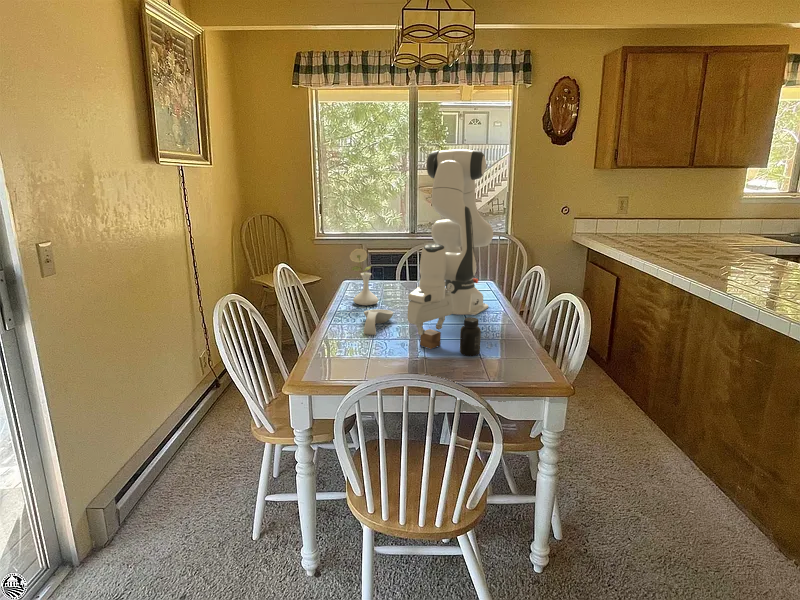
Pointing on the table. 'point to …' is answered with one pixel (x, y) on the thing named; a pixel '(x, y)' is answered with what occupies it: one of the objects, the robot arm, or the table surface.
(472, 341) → the supplement bottle
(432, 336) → the walnut cube
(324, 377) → the table surface
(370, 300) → the flower in vase
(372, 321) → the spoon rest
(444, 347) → the table surface
